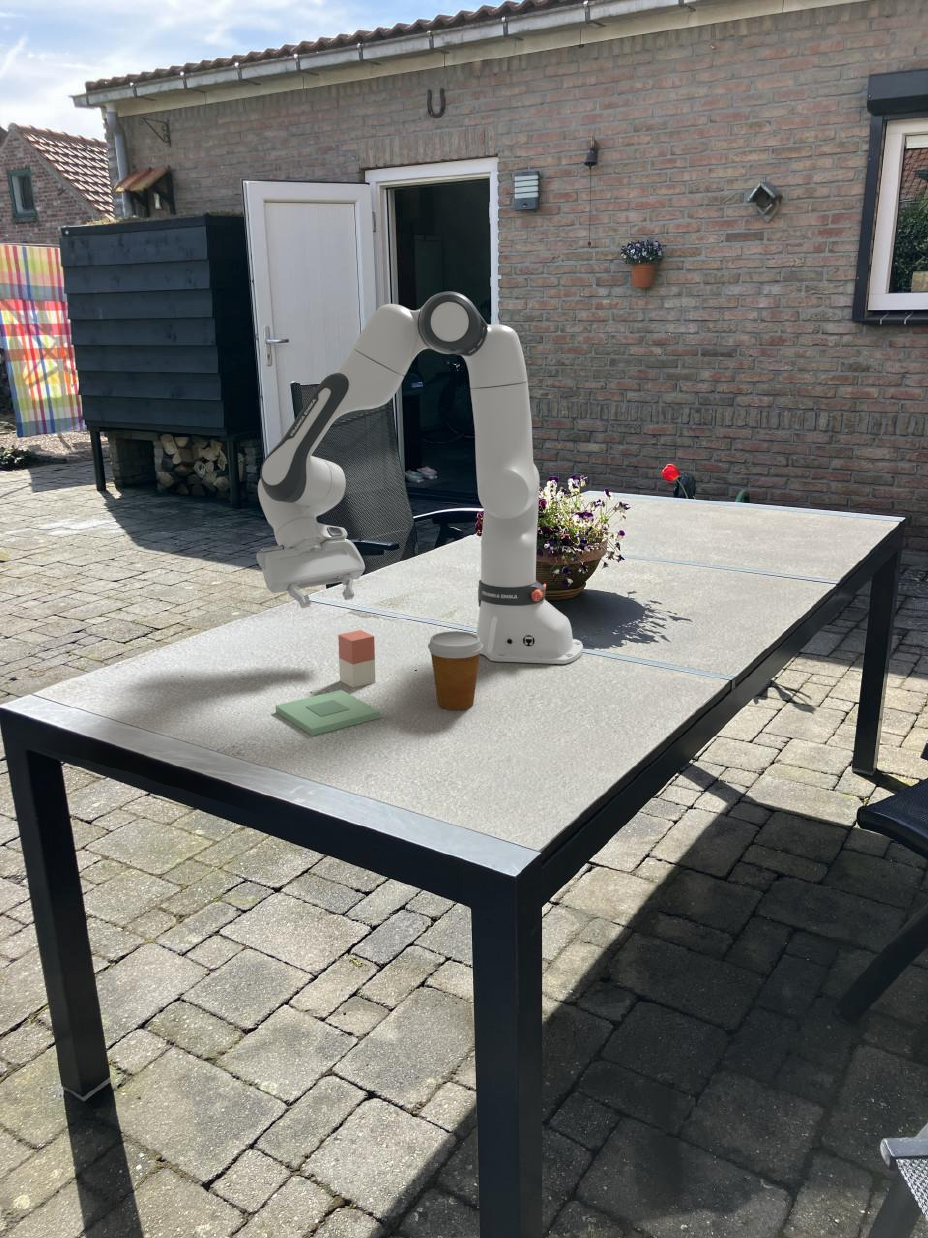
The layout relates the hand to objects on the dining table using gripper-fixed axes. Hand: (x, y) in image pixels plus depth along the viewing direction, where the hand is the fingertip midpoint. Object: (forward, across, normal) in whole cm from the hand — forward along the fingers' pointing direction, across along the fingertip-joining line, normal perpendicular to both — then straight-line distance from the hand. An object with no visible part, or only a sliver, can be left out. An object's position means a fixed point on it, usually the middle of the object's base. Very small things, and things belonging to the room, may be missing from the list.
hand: (328, 602), depth 195 cm
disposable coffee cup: (+31, +8, -12) cm, 34 cm away
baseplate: (+24, -13, -6) cm, 28 cm away
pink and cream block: (+16, 0, +2) cm, 17 cm away
